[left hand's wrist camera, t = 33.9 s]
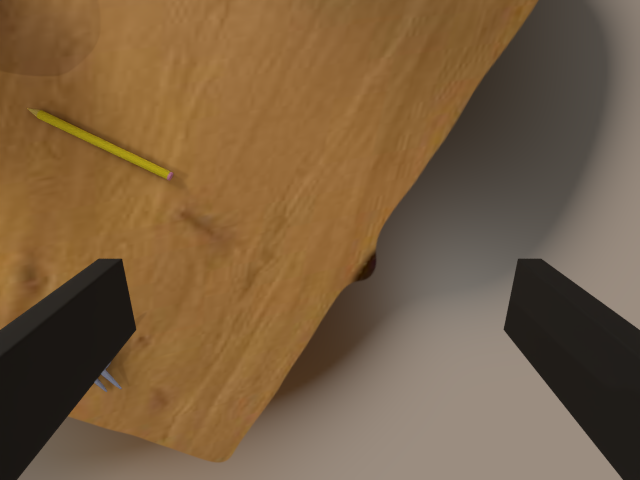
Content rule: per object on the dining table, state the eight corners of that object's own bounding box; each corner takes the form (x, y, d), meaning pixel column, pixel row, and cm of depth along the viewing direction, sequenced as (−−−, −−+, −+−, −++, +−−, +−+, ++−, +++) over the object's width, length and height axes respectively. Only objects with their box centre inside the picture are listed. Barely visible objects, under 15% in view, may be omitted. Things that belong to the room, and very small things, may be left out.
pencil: (174, 171, 44) (170, 173, 43) (171, 179, 44) (168, 181, 43) (30, 103, 41) (23, 103, 40) (28, 111, 41) (21, 112, 40)
